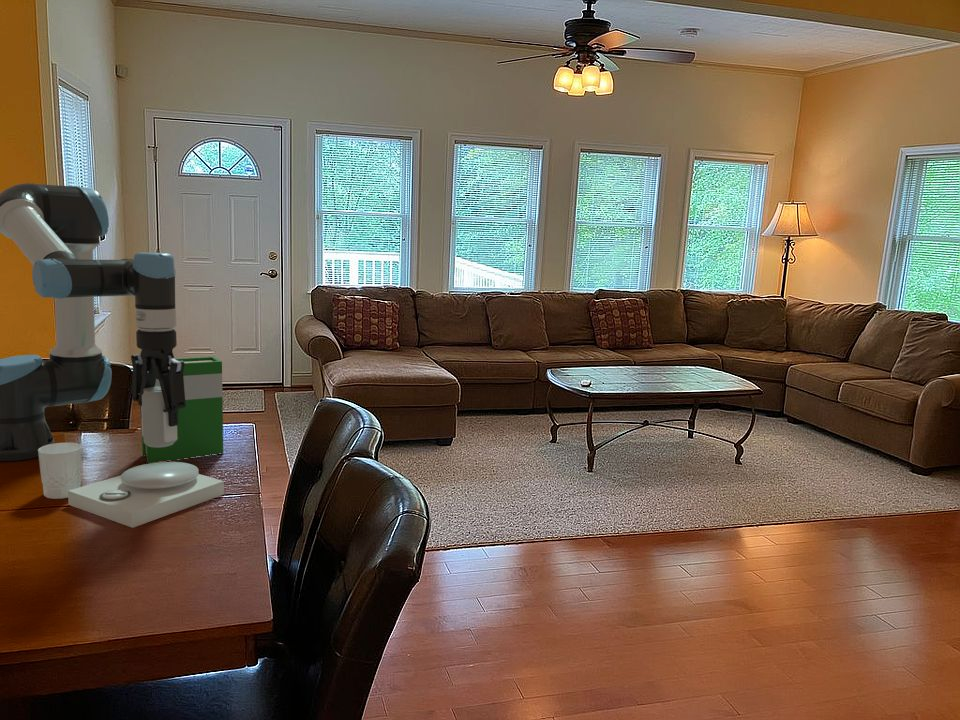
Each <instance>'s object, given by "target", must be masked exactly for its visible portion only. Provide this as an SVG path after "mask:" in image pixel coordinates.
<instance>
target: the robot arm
mask: <svg viewBox="0 0 960 720" xmlns="http://www.w3.org/2000/svg"><path fill="white" fill-rule="evenodd" d="M109 220H110V218H109V214H108V210H107V206H106V204H105V201H104V199H103V197H102V195H101V194H100V193H99V192H98V191H97V190H95V189H94V188H90V187H83V186H78V185H74V186H72V185H60V184H59V185H56V184H43V183H41V184H40V183H30V182H27V183H19V184H15V185H12V186H10V187H7V188H5V189H4V190H3V191H1V192H0V234H2V235H3V236H4V237H6V238H8V239H10V240H12V241H13V242H14V243H15V244H16V246H17V248H19V250H20V251H21V252H22V254H23V256H25V257H26V259H28V261H29V262H30V264H31V265H32V270H31V271H32V272H31V274H32V275H31V277H32V284H33V286H34V290H35V292H36V294H37V295H38V296H40V297H42V298H48V299H50V298H53V299H54V317H55V318H54V319H55V320H54V321H55V322H54V323H55V346H54V347H52V348H51V349H50V350H49V358H48V359H45V360H44V359H43V358H42V357H41V355H38V354H25V355H24V354H22V355H14V356H9V357H5V358H1V359H0V462H16V461H23V460H30V459H35V458H39V455H38V449H39V448H41V447H43V446H46V445H49V444H55V438H54V436H53V435H52V432H51V430H50V427H49V426H48V424H47V423H48V422H47V421H46V417H45V409H46V408H50V407H59V406H65V405H75V404H81V403H82V404H87V403H89V402H90V403H91V402H94V401H100V400H102V399H103V398H104V397H106V395H107V394H108V392H109V390H110V387H111V385H112V375H113V374H112V373H113V372H112V368H111V361H110V359H109V358H108V356H106V355H103V351H102V349H101V348H100V347H98V346H97V345H96V334H95V331H96V330H95V327H96V326H95V323H96V322H95V297H100V298H101V297H134V307H135V319H136V320H135V325H136V328H138V329H137V330H136V331H135V336H136V337H135V338H136V340H135V341H136V347H137V348H138V349H140V353H139V354H132V355H131V356H130V360H131V364H132V389H131V390H132V401H133V402H137V403H138V405H139V406H140V410H139V411H140V420H141V419H142V430H141V437H142V436H143V414H142V394H143V393H144V389H145V388H149V387H155V383H156V378H157V379H158V380H159V382H160V387H161V391H162V395H163V399H164V403H165V407H166V409H165V410H163V428H164V442H170V441H174V440H177V425H178V410H179V409H181V408H185V406H186V404H185V391H184V377H183V370H184V361H177V360H175V359H176V358H175V355H174V352H173V350H174V348H177V345H178V344H177V331H176V329H175V328H176V327H177V309H176V269H175V260H174V258H175V257H173V255H172V254H171V253H167V252H152V251H150V252H148V251H147V252H146V251H145V252H144V251H141V252H136V253H135V254H134V255H133V258H121V259H94V250H95V249H96V248H97V247H98V246H100V242H101V241H100V238H102V237H105V236H106V235H107V234H108V232H109V226H110V221H109ZM167 372H168V374H167ZM162 374H164V375H162ZM171 404H172V405H171Z"/></svg>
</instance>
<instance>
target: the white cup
mask: <svg viewBox="0 0 960 720" xmlns="http://www.w3.org/2000/svg"><path fill="white" fill-rule="evenodd" d="M82 450H83V449H82V445H81V444H80V443H77V442H58V443H57V442H56V443H55V442H54V444H49V445H46V446H43V447H41V448H39V449H38V455H39V457H38V463H39V472H40V479H41V484H42V491H43V496H44V497H46V498H47V499H53V500H58V499H59V500H60V499H62V500H63V499H67V498H68V491H69V490H72V489H76V488H79V487H81V481H82V457H83V456H82V455H83V454H82V453H83V452H82Z"/></svg>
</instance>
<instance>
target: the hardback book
mask: <svg viewBox="0 0 960 720" xmlns="http://www.w3.org/2000/svg"><path fill="white" fill-rule="evenodd" d="M174 359H175V360H177V361H184V370H183V377H184V391H185V404H186V406H185V408H181V409H179V410H178V425H177V440H176V442H174V443H173V445H171V446H167V447H160V448H155V447H149V446H147V445H146V444H145V443H144V439H143V436H142V435H141V449H142V450H141V452H142V453H141V454H142V455H143V456H144V455H147V456H146V464H147V463H153V462H159V461H167V460H177V459H184V458H191V457H196V456H205V455H210V454H211V455H212V454H219V453H223V454H224V417H223V416H224V413H223V408H224V407H223V406H224V404H223V361H222V360H220V359H219V358H217V357H216V356H201V357H200V356H199V357H198V356H197V357H181V358H179V357H178V358H174ZM167 374H168V372H167ZM162 375H164V374H162ZM156 386H160V382H159V380H158V379H157V378H156V383H155V387H156ZM140 421H141V422H140V424H141V425H140V427H141V431H142V419H141V418H140ZM143 456H142V457H143ZM144 457H145V456H144ZM177 461H178V460H177Z"/></svg>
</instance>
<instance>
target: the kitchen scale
mask: <svg viewBox="0 0 960 720" xmlns="http://www.w3.org/2000/svg"><path fill="white" fill-rule="evenodd" d="M199 470H200V469H199V468H198V467H197V466H196V465H194V464H191V463H187V462H182V461H169V462H157V463H149V464H147V463H146V464H145V463H144V464H141V465H137V466H133V467H131V468H128V469H127V470H125V471H123V472H122V474H121V475H117V476H114V477H111V478H106V479H104V480H100V481H97V482H93V483H91V484H86V485H82V486H80V487H79V488H76V489H72V490H69V491H68V506H71V507H74V508H77V509H79V510H81V511H85V512H87V513H91V514H94V515H95V516H99V517H102V518H105V519H106V520H110V521H113V522H115V523H118V524H121V525H123V526H127V527H129V528H131V529H133V528H136V527H138V526H142V525H144V524H147V523H149V522H152V521H155V520H157V519H160V518H163V517H166V516H169V515H171V514H174V513H177V512H180V511H183V510H185V509H188V508H191V507H194V506H196V505H199V504H202V503H204V502H207V501H210V500H212V499H215V498H218V497H220V496H223V495H225V482H224V480H220V479H217V478H215V477H211V476H207V475H204V474H200V473H199Z"/></svg>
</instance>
